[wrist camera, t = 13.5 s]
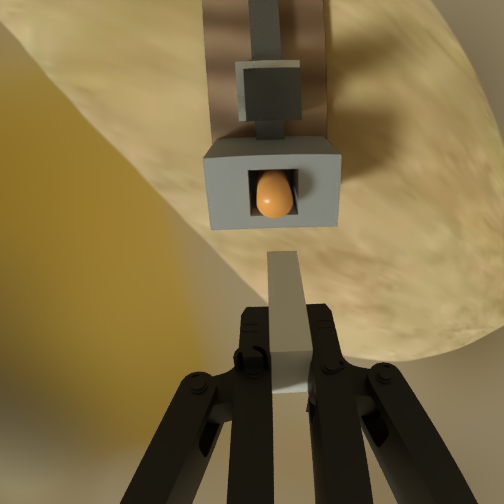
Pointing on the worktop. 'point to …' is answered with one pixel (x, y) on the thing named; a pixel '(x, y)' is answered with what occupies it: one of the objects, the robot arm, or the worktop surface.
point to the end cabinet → (272, 157)
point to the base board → (239, 49)
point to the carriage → (268, 90)
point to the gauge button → (273, 193)
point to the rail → (266, 53)
